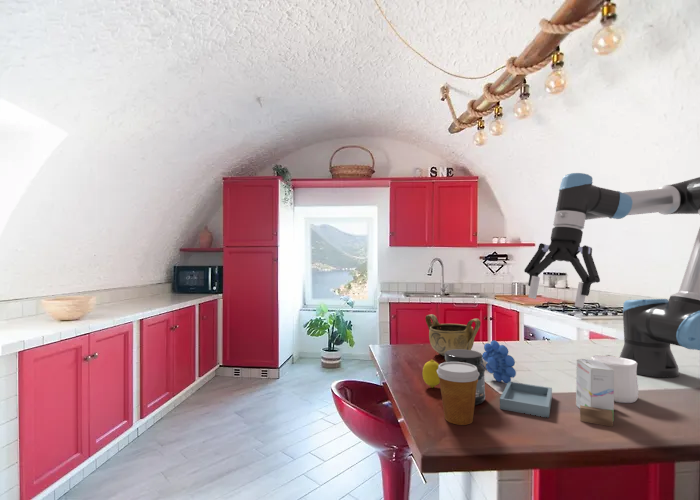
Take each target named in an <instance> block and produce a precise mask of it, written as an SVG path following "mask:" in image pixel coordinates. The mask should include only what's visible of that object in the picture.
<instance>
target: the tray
mask: <svg viewBox="0 0 700 500" xmlns="http://www.w3.org/2000/svg"><path fill="white" fill-rule="evenodd" d="M552 400H553V388H552V387H549V386H543V385H535V384H528V383H521V382H515V381H511V382H508V384H506V385H505V388H504V389H503V392H502V393H501V395H500V397H499V409H500V410H504V411H510V412H515V413H520V414H524V413H525V415H530V414H531V416H535V415H536V416H535V417H540V416H541V417H542V418H546V417H547V419H549V418H550V413H551V407H552ZM541 417H540V418H541Z"/></svg>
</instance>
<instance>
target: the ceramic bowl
mask: <svg viewBox="0 0 700 500" xmlns="http://www.w3.org/2000/svg"><path fill="white" fill-rule="evenodd" d="M424 320H425V323H426V325H427V329H428V331H429V332H428V338H429V339H428V340H429V343H430V346H431V348H432V349H433V350H434V351H435V353H438V354H439V355H440V356H443V357H445V352H446V351H448V350H453V349H466V350H472V349H473V346H474V342H475V338H476V336H477V334H478V332H479V330H480V328H481V320H480V319H479V318H473V319H470V320H469V321H468V322H467V324H460V323H440V322H439V321H438V318H437V316H436V315H435V314H427V315H426V316H425V319H424ZM473 322H474V323H475V325H474V327H473V326H472V324H473Z"/></svg>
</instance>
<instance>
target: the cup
mask: <svg viewBox="0 0 700 500" xmlns="http://www.w3.org/2000/svg"><path fill="white" fill-rule="evenodd" d="M590 360H598V361H600V362H602V363H603V364H605V365H606V366H608V367H609V368H611V369H613V370H614V403H622V404H631V403H636V402H637V400H638V397H639V384H638V383H639V381H638V377H637V376H638V374H637V362H636V361H634V360H630V359H626V358H621V357H620V356H613V355H603V354H599V355H598V354H597V355H596V354H595V355H592V356H591V358H590Z"/></svg>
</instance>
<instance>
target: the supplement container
mask: <svg viewBox="0 0 700 500" xmlns="http://www.w3.org/2000/svg"><path fill="white" fill-rule="evenodd" d="M482 355H483V353H481V352H479V351H477V350H472V349H471V350H466V349H453V350H448V351H446V352H445V356H444V360H445V362H463V363H469V364H472V365H474V366H476V367H477V370H478V372H479V377H478V379H477V387H476V397H475V406H477V405H480V404H482V403H484V401H485V399H486V389H485V388H486V386H485V385H486V384H485V380H486V379H485V371H486V367H485V366H484V365H483V361H484V359H483V357H482Z"/></svg>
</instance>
